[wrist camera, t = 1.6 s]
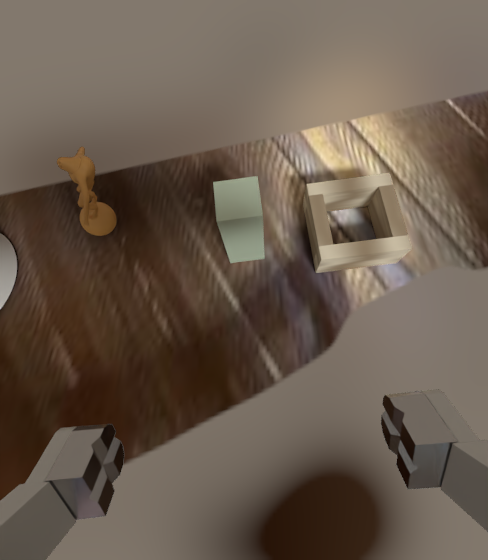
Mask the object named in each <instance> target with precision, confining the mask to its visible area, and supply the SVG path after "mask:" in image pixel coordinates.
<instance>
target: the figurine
mask: <svg viewBox="0 0 488 560" xmlns="http://www.w3.org/2000/svg"><path fill="white" fill-rule="evenodd" d="M84 154H85V149H84V147H80V148H79V150H78V152H77V154H76V155H75V156H74V157H60V158H58V160H57V164H58V165H59V167H60V168H61V169H63V170H65V171H67V172H68V173H69V176H70V178H71V179H72V180H73V181H74V182H75V183H77V184H79V185H78V187H77V191H78V192H80V195H79V200H78V205H79V207H82V208H83V209H82V210H81V213H80V223H81V225H82V227H83V228H84V229H85V230H86V231H87V232H88V233H90V234H92V235H96V236H104V235H107V234H109V233H110V232H112V231H113V229H114V228H115V226H116V221H117V219H116V215H115V212H114V211H113V209H112V208H111V207H110V206H108V205H107V204H105V203H102V202H97V196H96V195H95V193H94V192H93V191H91V190H92V188H93V185H94V177H95V166H94V164H93V162H92V160H91V159H89V158H88V157H87V156H84ZM92 197H93V199H92ZM91 200H92V201H91ZM89 201H91V203H89Z"/></svg>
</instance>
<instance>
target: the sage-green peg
mask: <svg viewBox="0 0 488 560" xmlns="http://www.w3.org/2000/svg"><path fill="white" fill-rule="evenodd" d="M213 186H214V198H215V209H216V221H217V224H218V227H219V230H220V233H221V236H222V239H223V242H224V245H225V248H226V251H227V254H228V257H229V260H230V263H234V262H241V261H249V260H257V259H264V234H263V214H262V206H261V199H260V192H259V185H258V177H257V176H254V177H247V178H240V179H233V180H225V181H218V182H213Z"/></svg>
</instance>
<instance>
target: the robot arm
mask: <svg viewBox="0 0 488 560" xmlns="http://www.w3.org/2000/svg"><path fill="white" fill-rule="evenodd" d="M16 274H17V258H16V254H15V250H14V248H13V246H12V244H11V243H10V241H9V240H8V239H7V238H6V237H5V236H4V235H2V234H1V233H0V309H1V308H2V307H3V305H4V304H5V302H6V301H7V299H8V297H9V295H10V293H11V291H12V289H13V286H14V283H15V279H16ZM383 406H384V408H385V410H386V411H385V412H384V413H383V414H382V417H381V425H382V431H383V435H384V438H385V441H386V443H387V445H388V448H389V449H390V450H391V451H392V452H393V453H395V454H396V455H397V463H396V465H397V467H398V469H399V471H400V474H401V476H402V478H403V480H404V482H405V484H406V487H407V489H420V488H438V487H441V490H442V491H443V492H444V493H445V494H446V495H448V496H449V497H450V498H451V499H452V500H453V501H454V502H455V503H456V504H458V505H459V506H460V507H461V508H462V509H463V510H464V511H465V512H466V513H467V514H469V515H470V516H471V517H472V518H473V519H474V520H475V521H476V522H477V523H479V524H480V525H481V526H482V527H483V528H484V529H485V530H486V531H487V532H488V441H487V440H480V439H479V438H478V437H477V436H476V434H475V433H474V432H473V430H472V429H471V428H470V426H469V425H468V424H467V422H466V421H465V420H464V419H463V417H462V416H461V415H460V413H459V412H458V411H457V410H456V408H455V407H454V406H453V405H452V403H451V402H450V400H449V399H448V398H447V396H446V395H445V394H444V393H443V392H442V391H441V390H439V389H438V390H427V391H415V392H407V393H398V394H389V395H385V396H384V398H383ZM115 433H116V430H115V429H114V427H113V425H112V424H105V425H92V426H79V427H68V428H61V429H59V430H58V431H57V432H56V433H55V434H54V436H53V438H52V439H51V441H50V443H49V444H48V446H47V448H46V449H45V451H44V453H43V454H42V456H41V458H40V459H39V461H38V463H37V464H36V466H35V468H34V469H33V471H32V473H31V475H30V476H29V478H28V480H27V481H26V483H25V484H20V485H19V486H17V487H16V488H15V489H14V490H13V491H11V492H10V493H9V494H8V495H7V496H6V497H4V498H3V499H2V500H1V501H0V560H46V559H47V558H48V556H49V555H50V554H51V553H52V551H53V550H54V549H55V548H56V546H57V545H58V544H59V543H60V542H61V540H62V539H63V538H64V536H65V535H66V534H67V533H68V532H69V530H70V529H71V528H72V527H73V525H74V524H75V523H76V520H78V519H86V518H95V517H102V516H106V514H107V511H108V508H109V506H110V503H111V500H112V497H113V494H114V488H113V485H112V483H113V482H114V480H116V479H117V478H118V476H119V475H120V473H121V470H122V467H123V461H124V449H123V445H122V443H121V441H119V440H118V439H116V438H115V437H114V435H115Z"/></svg>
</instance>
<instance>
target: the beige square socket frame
mask: <svg viewBox="0 0 488 560" xmlns="http://www.w3.org/2000/svg"><path fill="white" fill-rule="evenodd" d="M366 206H368V209H369V213H370V217H371V221H372V225H373V228H374V232H375V236H376V239H373V240H365V241H357V242H349V243H342V244H334V245H333V240H332V235H331V230H330V226H329V221H328V216H327V211H335V210H343V209H350V208H358V207H366ZM303 207H304V213H305V218H306V223H307V229H308V234H309V240H310V245H311V250H312V256H313V261H314V266H315V272H316V273H319V272H327V271H336V270H344V269H352V268H360V267H368V266H376V265H385V264H393V263H397V262H398V261H399V260H400V259H401V258H403V257H404V256H405V255H406V254H407V253H408V252H409V251H410V250H411V249H412V246H411V243H410V240H409V236H408V233H407V230H406V226H405V223H404V220H403V216H402V213H401V209H400V206H399V203H398V199H397V196H396V193H395V189H394V186H393V182H392V179H391V176H390V173H384V174H377V175H370V176H362V177H355V178H347V179H340V180H332V181H325V182H317V183H310V184H306V189H305V195H304V200H303Z"/></svg>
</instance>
